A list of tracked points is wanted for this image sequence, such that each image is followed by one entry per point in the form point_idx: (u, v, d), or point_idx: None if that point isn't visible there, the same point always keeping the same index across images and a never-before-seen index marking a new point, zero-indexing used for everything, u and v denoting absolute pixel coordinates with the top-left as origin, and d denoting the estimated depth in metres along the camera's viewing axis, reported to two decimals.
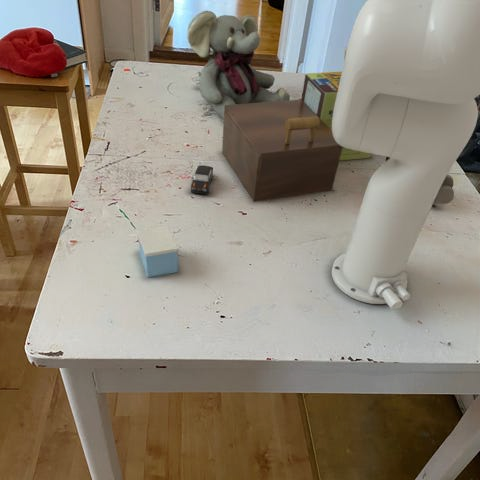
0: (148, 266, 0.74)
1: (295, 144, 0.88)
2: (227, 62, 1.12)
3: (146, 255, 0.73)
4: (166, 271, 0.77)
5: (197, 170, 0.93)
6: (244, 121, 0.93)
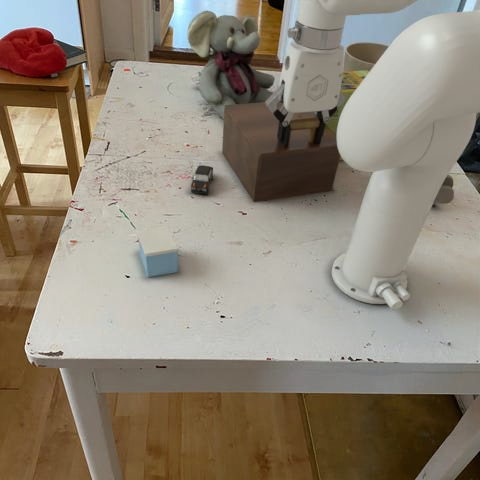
0: (148, 266, 0.74)
1: (295, 144, 0.88)
2: (227, 62, 1.12)
3: (146, 255, 0.73)
4: (166, 271, 0.77)
5: (197, 170, 0.93)
6: (244, 121, 0.93)
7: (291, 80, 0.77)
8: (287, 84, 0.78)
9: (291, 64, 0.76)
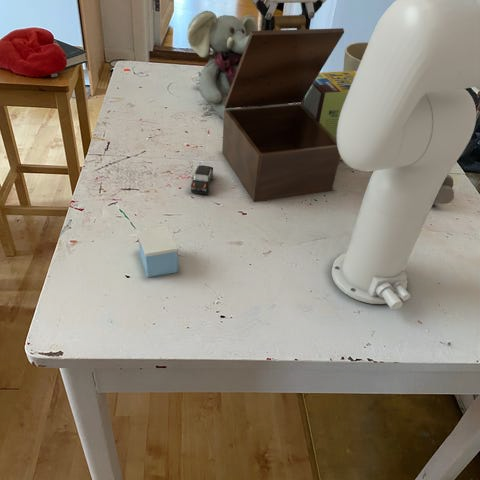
0: (148, 266, 0.74)
1: None
2: (227, 62, 1.12)
3: (146, 255, 0.73)
4: (166, 271, 0.77)
5: (197, 170, 0.93)
6: None
7: None
8: None
9: None
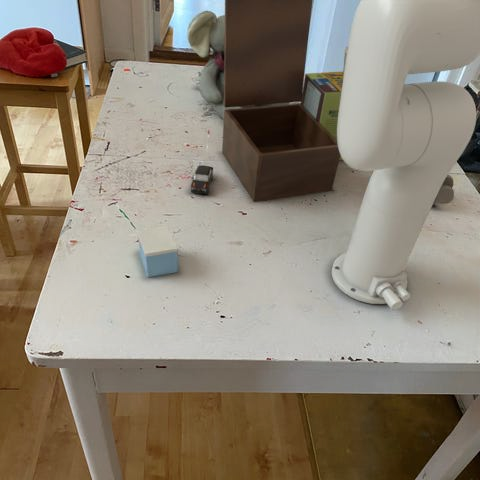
0: (148, 266, 0.74)
1: None
2: None
3: (146, 255, 0.73)
4: (166, 271, 0.77)
5: (197, 170, 0.93)
6: None
7: None
8: None
9: None
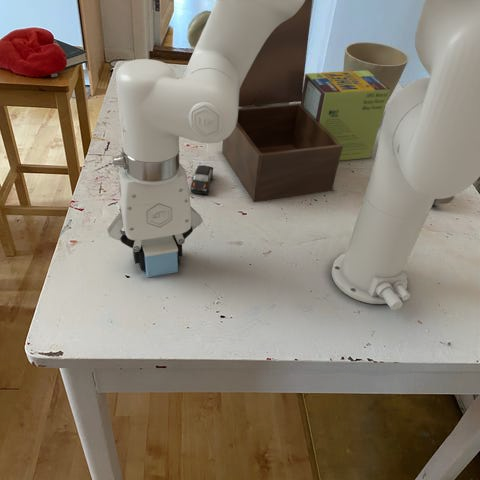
0: (148, 266, 0.74)
1: None
2: None
3: (146, 255, 0.73)
4: (166, 271, 0.77)
5: (197, 170, 0.93)
6: None
7: (125, 210, 0.67)
8: (122, 213, 0.68)
9: (122, 194, 0.66)
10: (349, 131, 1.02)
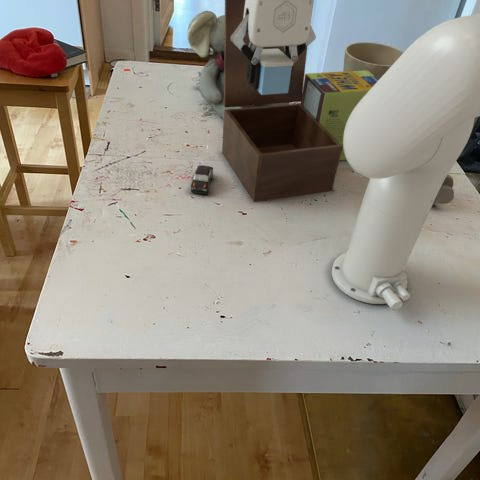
0: (264, 80, 0.78)
1: None
2: None
3: (265, 65, 0.76)
4: (278, 90, 0.80)
5: (197, 170, 0.93)
6: None
7: (255, 6, 0.70)
8: (251, 12, 0.71)
9: None
10: None
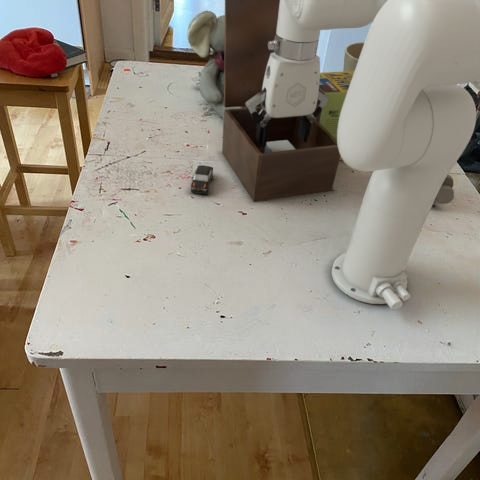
0: None
1: None
2: None
3: None
4: None
5: (197, 170, 0.93)
6: None
7: (272, 88, 0.84)
8: (268, 91, 0.85)
9: (271, 73, 0.83)
10: None
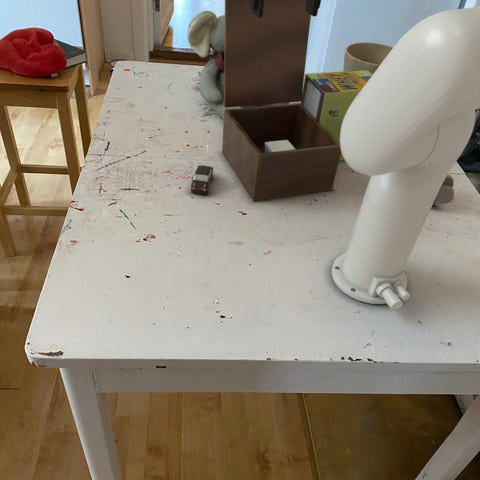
0: None
1: None
2: None
3: None
4: None
5: (197, 170, 0.93)
6: None
7: None
8: None
9: None
10: None
